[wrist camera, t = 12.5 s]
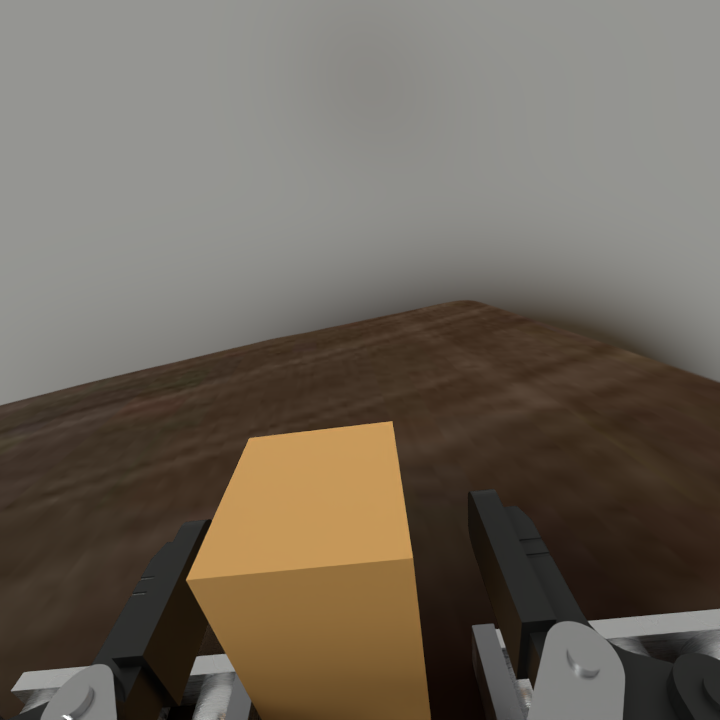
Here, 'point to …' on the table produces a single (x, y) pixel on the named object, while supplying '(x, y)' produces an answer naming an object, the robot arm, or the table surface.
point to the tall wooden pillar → (317, 578)
